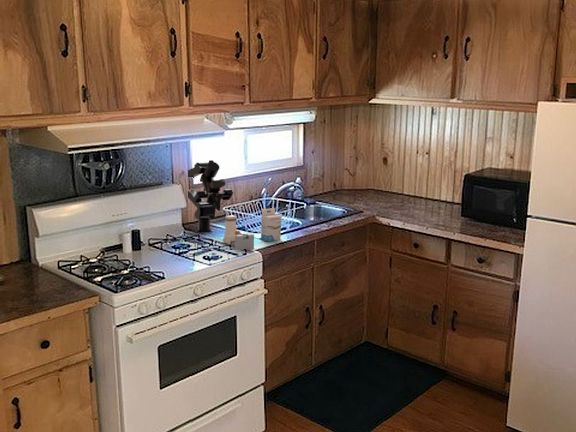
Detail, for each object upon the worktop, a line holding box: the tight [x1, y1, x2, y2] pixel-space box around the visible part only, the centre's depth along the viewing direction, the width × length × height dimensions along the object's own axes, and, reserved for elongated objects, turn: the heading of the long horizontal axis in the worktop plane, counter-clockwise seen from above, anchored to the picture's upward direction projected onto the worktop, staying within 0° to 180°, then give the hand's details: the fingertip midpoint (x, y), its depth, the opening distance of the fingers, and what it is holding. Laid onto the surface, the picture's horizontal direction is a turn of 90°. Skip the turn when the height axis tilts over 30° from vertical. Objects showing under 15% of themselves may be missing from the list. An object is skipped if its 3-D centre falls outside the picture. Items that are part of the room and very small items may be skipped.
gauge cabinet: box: [234, 233, 255, 251], centre depth 278 cm, size 4×8×6 cm, turn 123°
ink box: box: [260, 207, 282, 242], centre depth 296 cm, size 8×5×15 cm, turn 131°
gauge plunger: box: [235, 229, 247, 239], centre depth 280 cm, size 8×2×2 cm, turn 33°
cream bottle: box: [223, 214, 237, 245], centre depth 287 cm, size 5×5×12 cm
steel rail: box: [222, 237, 235, 247], centre depth 286 cm, size 16×3×1 cm, turn 33°
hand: (219, 210), depth 296 cm, fingers closed
